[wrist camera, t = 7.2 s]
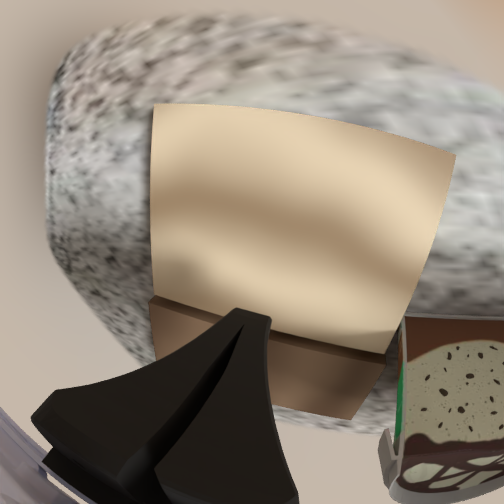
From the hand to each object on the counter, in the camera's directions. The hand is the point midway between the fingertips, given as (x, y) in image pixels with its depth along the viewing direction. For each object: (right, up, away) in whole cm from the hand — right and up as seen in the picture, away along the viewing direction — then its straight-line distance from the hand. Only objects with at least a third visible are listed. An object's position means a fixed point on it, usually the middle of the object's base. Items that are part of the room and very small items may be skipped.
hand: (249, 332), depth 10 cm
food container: (+13, -4, +5) cm, 15 cm away
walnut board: (+1, -4, +9) cm, 10 cm away
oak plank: (+2, +4, +4) cm, 6 cm away
